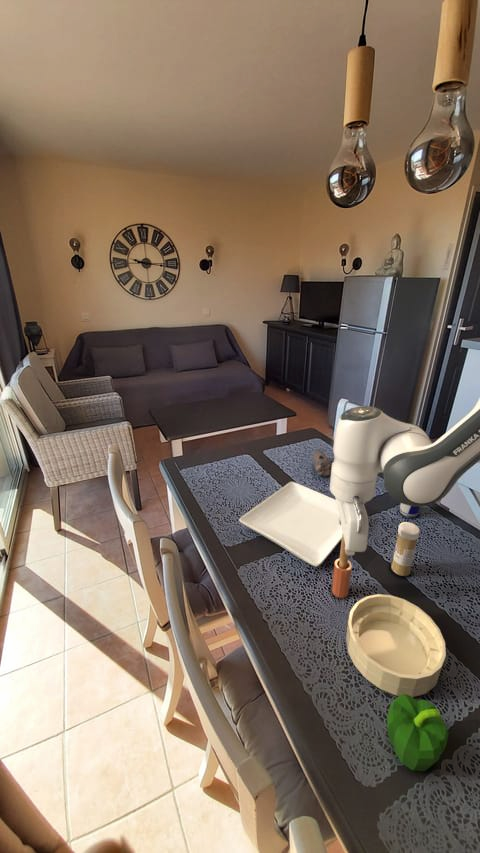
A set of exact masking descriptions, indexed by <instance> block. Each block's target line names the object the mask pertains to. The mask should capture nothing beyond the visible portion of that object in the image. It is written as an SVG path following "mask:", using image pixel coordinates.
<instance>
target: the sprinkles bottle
mask: <svg viewBox="0 0 480 853" xmlns="http://www.w3.org/2000/svg"><path fill="white" fill-rule="evenodd" d="M420 532H421V531H420V528H419V526H418V525H416V524H414V523H412V522H409V521H403V522H401V523H399V524H398V528H397V537H396V542H395V547H394V553H393V557H392V563H391V566H390V567H391V570H392V572H394V573H395V574H396V575H398V576H400V577H407V576H410V574H411V569H412V565H413V562H414V557H415V552H416V548H417V542H418V538H419V537H420Z"/></svg>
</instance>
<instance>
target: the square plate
mask: <svg viewBox="0 0 480 853" xmlns="http://www.w3.org/2000/svg"><path fill="white" fill-rule="evenodd" d="M238 522H240V523H241V524H242V525H243V526H245V527H247V528H248V529H250V530H252V531H253V532H255V533H257V534H259V535H261V536H262V537H264V538H266V539H268V540H269V541H271V542H273V543H275V544H276V545H278V546H279V547H281V548H283V549H285V551H287V552H289V553H290V554H292V555H293V556H295V557H297V558H298V559H300V560H302V561H303V562H305V563H306V564H309V565H310V566H312V567H315V568H318V567H320V566H321V565H322V564H323V562H324V561H325V560H326V559H327V558H328V557H329V556H330V554H331V553H332V552H333V550H334V549H335V548H336V547H337V546H338V545H339V543H341V542H342V533H343V531H342V526H341V525H340V524H339V512H338V508H337V503H336V498H333V497H330V496H328V495H326V494H323V493H322V492H320V491H319V492H318V491H316V490H314V489H311V488H310V487H307V486H304V485H302V484H300V483H297V482H295V481H289V482H288V483H287V484H285V485H284V486H282V487H281V488H279V490H277V491H275V492H274V493H272V494H271V495H270V496H269V497H267V498H266V499H264V500H263V501H261V502H260V503H259V504H257V505H256V506H254V507H253V508H252V509H250V510H249V511H248V512H246V513H245V514H243V515H242V516H241V517H240V518H239V519H238Z"/></svg>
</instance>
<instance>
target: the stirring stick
mask: <svg viewBox="0 0 480 853" xmlns="http://www.w3.org/2000/svg"><path fill="white" fill-rule="evenodd" d="M349 556H350V555H346V553H345V541H344V536H343V533H342V540H341V541H340V552H339V558H340V560H339V567H340V568H342V569H347V564H348V560H349Z"/></svg>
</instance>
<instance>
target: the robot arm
mask: <svg viewBox="0 0 480 853" xmlns="http://www.w3.org/2000/svg"><path fill="white" fill-rule="evenodd" d="M334 432H335V433H334V440H333V447H332V452H333V456H334V458H333V462H332V463H331V475H330V480H329V491H330V493H331V494H332V496H334V499H335V500H336V503H337V508H338V512H339V524H340V525H341V526H342V531H343V536H344V541H345V553H346V555H349V556H355V554H356V553H364V552H366V550H367V547H368V539H369V526H370V525H369V524H370V523H369V515H368V513H367V509H366V506H365V504H366V503H367V502H370V501H371V500H372V499H374V497H375V495H376V494H375V493H376V486H377V479H378V474H380V473H382V475H383V482H384V489H385V490H386V492H387V494H388V495H389V496H390V497H391V498H392V499H393V500H394V501H396V502H397V503H400V504H401V503H402V504H405V505H410V506H420V507H425V506H430V505H434V504H435V503H438V502H439V501H441V500H442V499H444V498H445V497H446V496H447V495H448V494H449V492H450V491H451V490H452V489H453V488H454V486H455V485H456V483H457V482H458V481H459V479H461V477H462V476H463V475H464V474H465V473H466V472H467V471H469V470H470V469H471V468H472V467H474V466H476V464H478V463H479V462H480V396H479V397H478V400H477V402H476V404H475V405H474V407H473V408H472V410H471V411H469V413H467V414H466V415H465V416H464V417H462V418H461V420H459V421H458V422H456V423H455V425H453V426H452V427H451V428H450V429H449V430H448V431H446V432H445V433H444V434H443V435H441V436H440V437H439V438H437V440H436V441H434V442H432V440H431V438H430V437H429V436H428V435H427V433H426V432H425V431H424V429H422V427H420V426H418V425H416V424H413V423H410V422H403V421H400V420H398V419H395V418H394V417H391V416H389V415H387V414H386V413H384V412H383V411H382V410H381V409H380V408H379V407H377V406H371V405H370V406H369V405H360V406H359V405H357V406H354V407H350V408H349V409H347V410H345V411H344V412H343V413H342V414H341V415H340V416H339V418H338V420H337V424H336V428H335V431H334Z"/></svg>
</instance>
